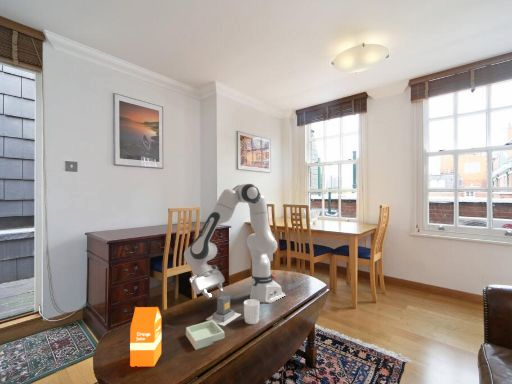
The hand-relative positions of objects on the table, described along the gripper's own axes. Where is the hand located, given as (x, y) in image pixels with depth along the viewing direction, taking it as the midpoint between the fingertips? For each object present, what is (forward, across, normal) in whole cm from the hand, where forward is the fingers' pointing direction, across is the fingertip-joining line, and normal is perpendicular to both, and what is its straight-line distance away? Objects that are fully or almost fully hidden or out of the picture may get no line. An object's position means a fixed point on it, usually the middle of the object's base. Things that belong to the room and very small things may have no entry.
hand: (216, 294), depth 133 cm
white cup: (+22, +4, -6) cm, 23 cm away
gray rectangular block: (+11, 0, +4) cm, 11 cm away
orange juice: (+9, -41, +7) cm, 43 cm away
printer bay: (+11, 0, +4) cm, 12 cm away
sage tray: (+14, -18, +1) cm, 23 cm away
